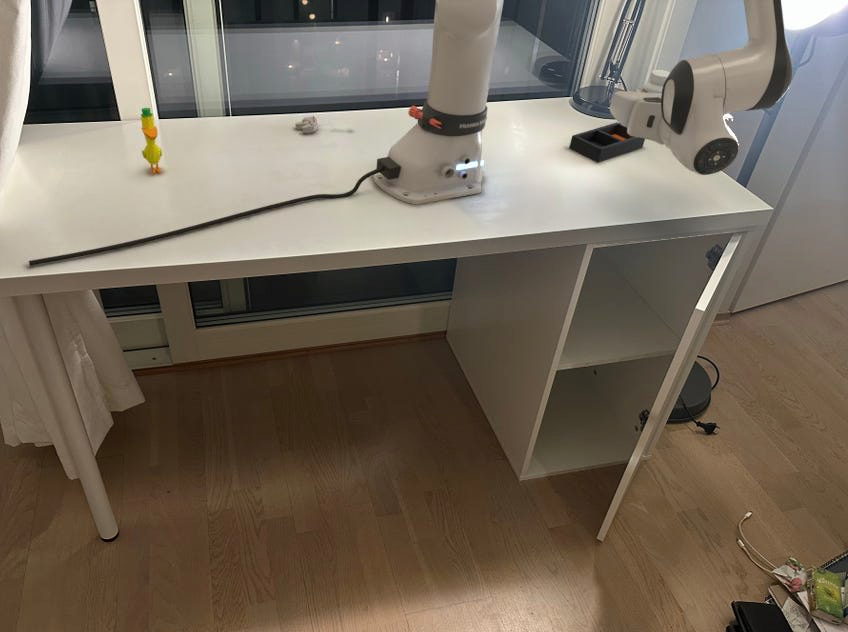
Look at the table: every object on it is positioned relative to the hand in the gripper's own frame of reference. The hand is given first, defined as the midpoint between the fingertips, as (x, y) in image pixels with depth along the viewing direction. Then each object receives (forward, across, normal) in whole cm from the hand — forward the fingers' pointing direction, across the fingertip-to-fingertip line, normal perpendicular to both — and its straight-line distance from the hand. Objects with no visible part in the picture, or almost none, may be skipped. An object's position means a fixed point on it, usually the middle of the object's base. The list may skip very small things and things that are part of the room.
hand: (653, 93), depth 136 cm
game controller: (+15, +64, +16) cm, 68 cm away
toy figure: (-8, +96, +17) cm, 97 cm away
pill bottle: (-1, 0, +6) cm, 6 cm away
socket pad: (+12, +1, +16) cm, 21 cm away
